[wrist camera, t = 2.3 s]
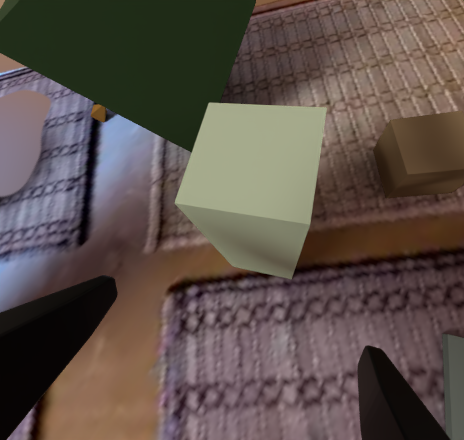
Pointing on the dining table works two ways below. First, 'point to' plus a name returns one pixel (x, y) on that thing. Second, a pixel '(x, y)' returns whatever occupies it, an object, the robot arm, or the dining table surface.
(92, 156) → the dining table surface
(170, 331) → the dining table surface
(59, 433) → the dining table surface
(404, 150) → the walnut block
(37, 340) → the robot arm
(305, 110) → the sage block
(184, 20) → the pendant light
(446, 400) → the slate mat
